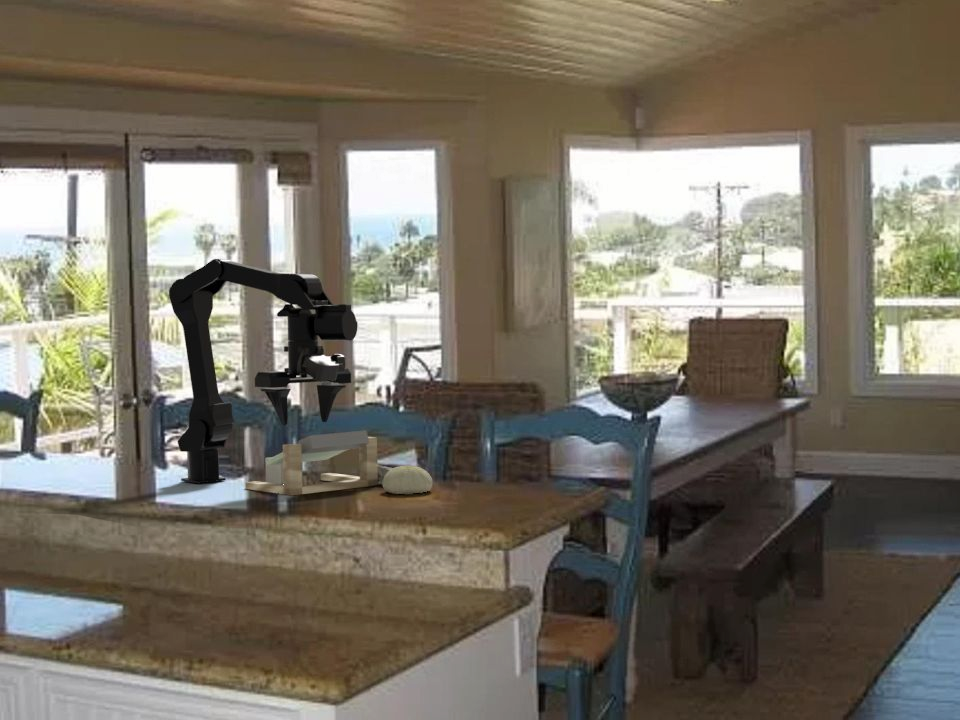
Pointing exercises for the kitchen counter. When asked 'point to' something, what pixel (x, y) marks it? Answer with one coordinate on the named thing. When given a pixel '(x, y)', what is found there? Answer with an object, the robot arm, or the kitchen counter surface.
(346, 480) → the frame
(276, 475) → the off-white cube
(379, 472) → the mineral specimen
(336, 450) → the trapdoor
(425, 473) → the sea urchin shell
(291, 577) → the kitchen counter surface
